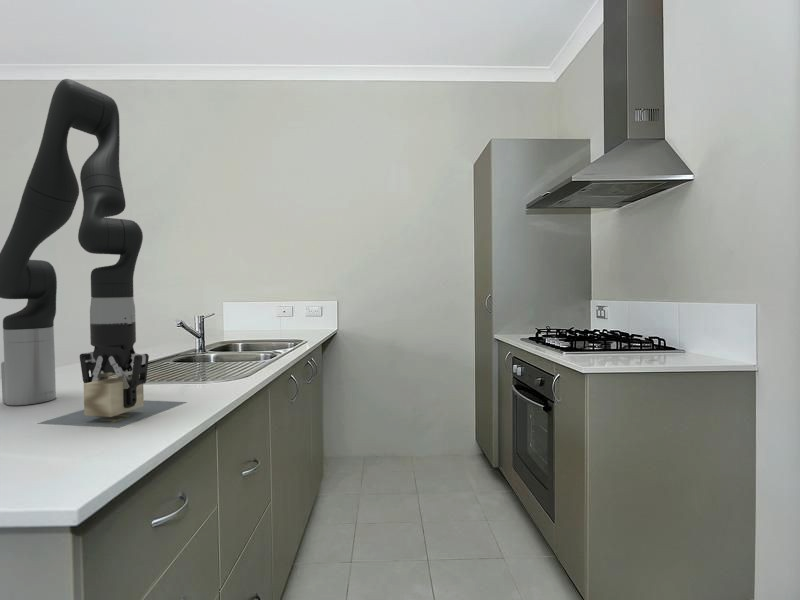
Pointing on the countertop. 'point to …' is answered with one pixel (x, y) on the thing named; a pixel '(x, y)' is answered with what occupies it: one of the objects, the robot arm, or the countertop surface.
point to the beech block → (108, 397)
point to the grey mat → (115, 421)
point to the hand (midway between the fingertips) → (115, 405)
